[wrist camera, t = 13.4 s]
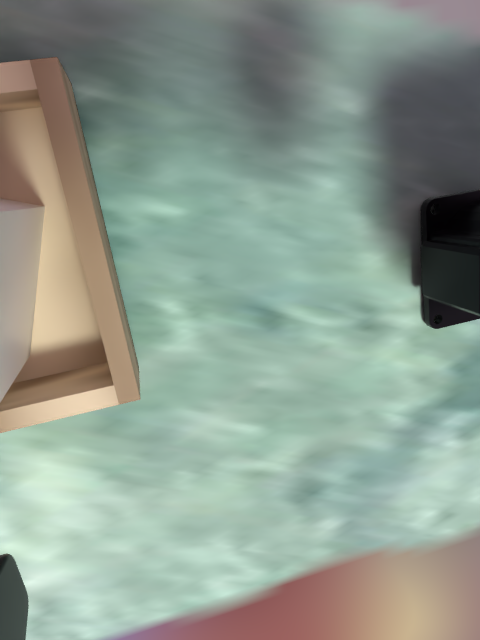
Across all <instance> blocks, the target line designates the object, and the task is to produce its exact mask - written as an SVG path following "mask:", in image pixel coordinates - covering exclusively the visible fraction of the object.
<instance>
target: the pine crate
mask: <svg viewBox="0 0 480 640" xmlns="http://www.w3.org/2000/svg"><path fill="white" fill-rule="evenodd" d="M0 198H2V199H8V200H13V201H18V202H24V203H29V204H34V205H40V206H45V212H44V222H43V232H42V241H41V251H40V261H39V271H38V281H37V291H36V301H35V310H34V320H33V330H32V340H31V350H30V356H29V358H28V360H27V361H26V363H25V364H24V366H23V367H22V369H21V371H20V372H19V374H18V375H17V377H16V379H15V380H14V382H13V383H12V385H11V387H10V388H9V390H8V391H7V393H6V394H5V396H4V398H3V399H2V401H1V402H0V433H2V432H7V431H11V430H15V429H19V428H23V427H27V426H32V425H36V424H40V423H44V422H48V421H52V420H56V419H61V418H65V417H69V416H73V415H77V414H81V413H86V412H90V411H94V410H98V409H102V408H106V407H111V406H115V405H119V404H123V403H127V402H131V401H136V400H140V383H139V366H138V361H137V357H136V353H135V349H134V345H133V340H132V336H131V332H130V328H129V324H128V320H127V315H126V311H125V307H124V303H123V299H122V294H121V290H120V286H119V282H118V278H117V273H116V269H115V265H114V261H113V257H112V252H111V248H110V244H109V240H108V236H107V231H106V227H105V223H104V219H103V215H102V210H101V206H100V202H99V198H98V194H97V189H96V185H95V181H94V177H93V173H92V168H91V164H90V160H89V156H88V152H87V147H86V143H85V139H84V135H83V131H82V126H81V122H80V118H79V114H78V110H77V105H76V101H75V97H74V93H73V89H72V85H71V82H70V80H69V79H68V77H67V75H66V73H65V71H64V69H63V67H62V65H61V63H60V61H59V60H58V58H57V57H52V58H43V59H33V60H23V61H13V62H4V63H0Z"/></svg>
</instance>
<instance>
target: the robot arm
mask: <svg viewBox="0 0 480 640" xmlns="http://www.w3.org/2000/svg"><path fill="white" fill-rule="evenodd" d="M432 205H434V206H435V211H434V212H433V213H431V207H432ZM421 228H422V246H421V267H422V293H423V295H424V320H425V323H426V324H427V325H428V326H430V327H432V328H434V329H439V328H443V327H447V326H451V325H455V324H459V323H464V322H468V321H472V320H476V319H480V189H478V190H473V191H467V192H462V193H456V194H451V195H445V196H440V197H434V198H430V199H427V200H426V201H425V202H424V203H423V205H422V207H421ZM436 315H437V320H436V321H434V317H435V316H436ZM27 617H28V595H27V591H26V588H25V585H24V583H23V580H22V578H21V575H20V572H19V570H18V567H17V564H16V562H15V560H14V558H13V557H12V555H10V554H3V555H0V640H25V638H26V627H27Z"/></svg>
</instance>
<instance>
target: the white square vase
mask: <svg viewBox="0 0 480 640" xmlns="http://www.w3.org/2000/svg"><path fill="white" fill-rule="evenodd" d="M44 212H45V206H40V205H34V204H29V203H24V202H18V201H13V200H8V199H2V198H0V402H1V401H2V399H3V398H4V396H5V394H6V393H7V391H8V390H9V388H10V387H11V385H12V383H13V382H14V380H15V379H16V377H17V375H18V374H19V372H20V371H21V369H22V367H23V366H24V364H25V363H26V361H27V360H28V358H29V356H30V350H31V340H32V330H33V320H34V310H35V301H36V291H37V281H38V271H39V261H40V251H41V241H42V232H43V222H44Z"/></svg>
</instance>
